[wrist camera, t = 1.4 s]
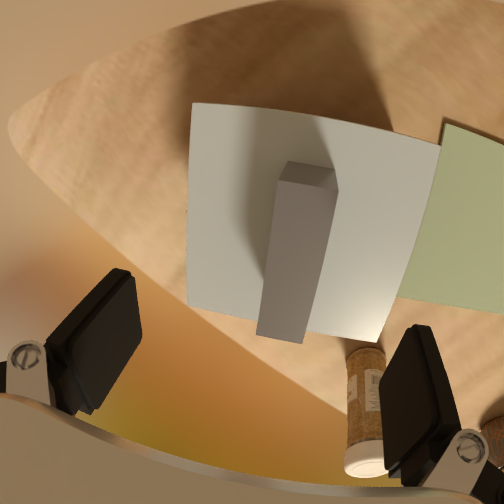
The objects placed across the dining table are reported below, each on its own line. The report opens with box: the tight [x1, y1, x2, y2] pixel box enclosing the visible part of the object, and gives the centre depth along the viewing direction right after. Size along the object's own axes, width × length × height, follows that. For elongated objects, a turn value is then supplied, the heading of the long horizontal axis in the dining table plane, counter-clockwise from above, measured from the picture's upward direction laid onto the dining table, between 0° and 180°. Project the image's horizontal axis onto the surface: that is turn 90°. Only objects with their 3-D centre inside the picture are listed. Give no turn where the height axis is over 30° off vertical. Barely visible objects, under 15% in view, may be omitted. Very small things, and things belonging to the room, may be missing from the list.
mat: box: [396, 123, 504, 315], centre depth 23 cm, size 16×16×1 cm
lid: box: [186, 102, 441, 344], centre depth 17 cm, size 13×13×6 cm
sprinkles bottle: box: [344, 348, 388, 478], centre depth 26 cm, size 5×5×13 cm
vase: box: [480, 417, 504, 470], centre depth 30 cm, size 7×7×9 cm
